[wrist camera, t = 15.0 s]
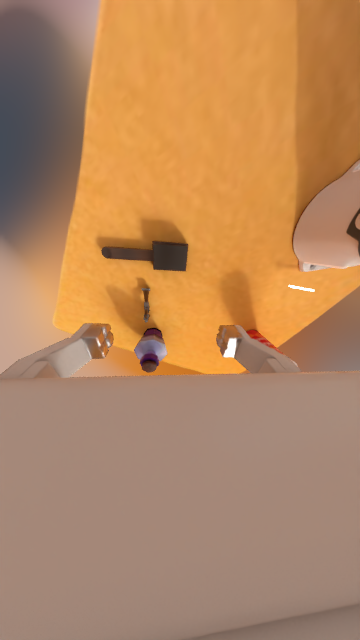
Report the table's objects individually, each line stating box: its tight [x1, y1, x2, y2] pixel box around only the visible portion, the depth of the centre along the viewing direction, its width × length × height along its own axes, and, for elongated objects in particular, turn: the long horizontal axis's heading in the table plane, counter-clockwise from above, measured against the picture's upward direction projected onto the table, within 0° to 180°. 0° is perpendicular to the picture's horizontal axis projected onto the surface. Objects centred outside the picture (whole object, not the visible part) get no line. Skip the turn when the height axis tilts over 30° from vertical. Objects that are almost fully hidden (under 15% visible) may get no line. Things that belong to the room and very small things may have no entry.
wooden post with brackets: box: [142, 288, 150, 322], centre depth 32 cm, size 2×8×4 cm, turn 176°
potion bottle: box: [134, 328, 167, 372], centre depth 34 cm, size 9×9×12 cm
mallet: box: [102, 241, 188, 271], centre depth 26 cm, size 17×5×3 cm, turn 86°
